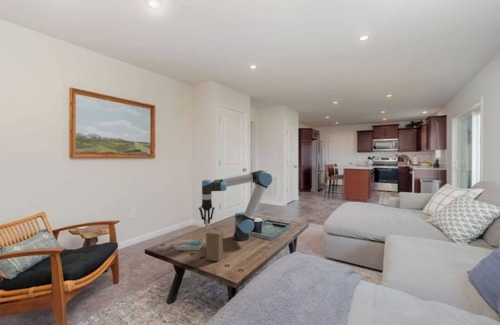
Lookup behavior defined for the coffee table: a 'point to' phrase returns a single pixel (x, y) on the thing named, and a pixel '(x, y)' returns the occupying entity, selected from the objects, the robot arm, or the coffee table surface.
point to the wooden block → (214, 244)
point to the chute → (188, 246)
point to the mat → (169, 247)
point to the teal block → (196, 242)
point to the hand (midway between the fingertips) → (207, 227)
